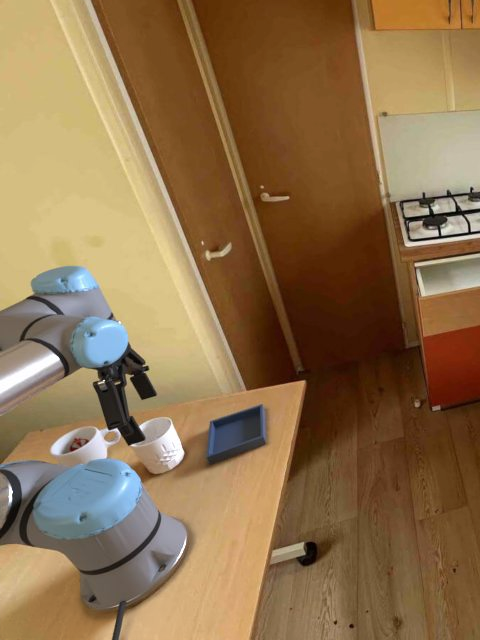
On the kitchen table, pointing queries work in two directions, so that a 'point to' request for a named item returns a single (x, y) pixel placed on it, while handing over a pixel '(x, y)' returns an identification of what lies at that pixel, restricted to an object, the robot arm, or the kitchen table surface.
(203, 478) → the kitchen table surface
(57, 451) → the cup
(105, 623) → the kitchen table surface
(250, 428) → the tray
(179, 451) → the white cup
